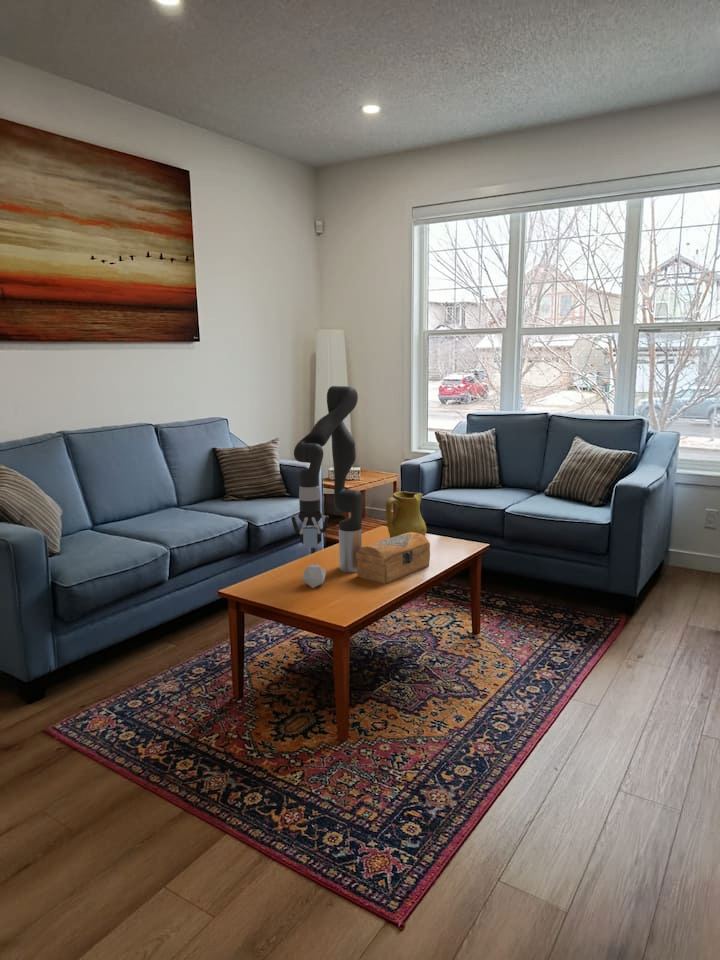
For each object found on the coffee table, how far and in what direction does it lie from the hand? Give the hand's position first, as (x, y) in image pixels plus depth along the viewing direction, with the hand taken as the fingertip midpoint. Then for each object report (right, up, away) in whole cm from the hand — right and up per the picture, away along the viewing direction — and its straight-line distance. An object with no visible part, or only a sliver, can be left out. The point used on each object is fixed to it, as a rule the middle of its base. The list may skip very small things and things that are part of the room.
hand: (310, 543), depth 247 cm
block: (0, -1, 0) cm, 1 cm away
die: (0, -14, +5) cm, 15 cm away
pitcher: (+39, -8, +63) cm, 75 cm away
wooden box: (+32, -15, +27) cm, 45 cm away
